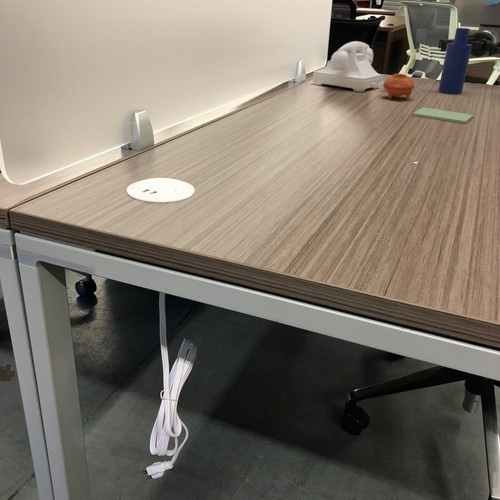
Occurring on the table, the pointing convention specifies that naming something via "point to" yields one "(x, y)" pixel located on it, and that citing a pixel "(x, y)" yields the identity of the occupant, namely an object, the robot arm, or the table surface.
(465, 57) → the bottle
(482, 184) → the table surface
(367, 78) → the telephone
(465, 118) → the mat
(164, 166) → the table surface
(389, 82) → the pot
